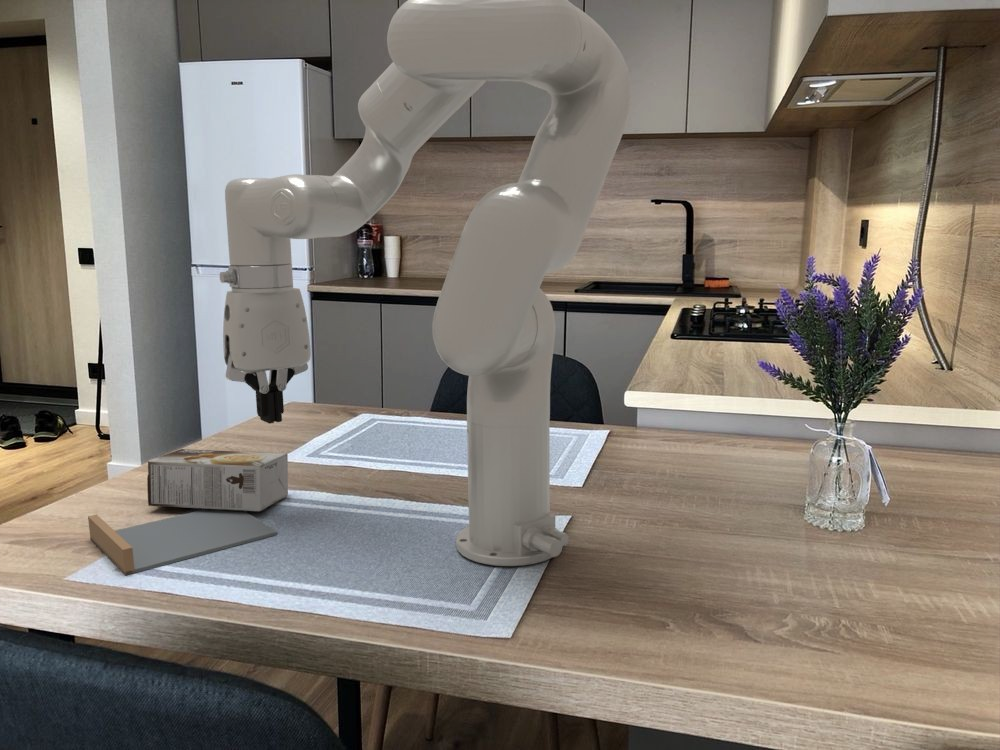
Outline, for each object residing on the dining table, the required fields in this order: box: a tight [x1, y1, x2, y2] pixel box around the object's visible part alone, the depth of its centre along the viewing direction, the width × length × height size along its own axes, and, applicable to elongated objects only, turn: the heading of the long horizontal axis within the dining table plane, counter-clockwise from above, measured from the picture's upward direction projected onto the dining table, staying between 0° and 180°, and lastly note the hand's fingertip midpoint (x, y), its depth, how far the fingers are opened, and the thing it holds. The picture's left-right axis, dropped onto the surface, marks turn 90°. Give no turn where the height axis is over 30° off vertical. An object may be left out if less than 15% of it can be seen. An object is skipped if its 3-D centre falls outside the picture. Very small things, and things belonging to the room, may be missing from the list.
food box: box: [146, 448, 289, 512], centre depth 115 cm, size 9×6×16 cm
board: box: [87, 509, 278, 576], centre depth 103 cm, size 14×18×3 cm
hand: (271, 420), depth 109 cm, fingers closed
